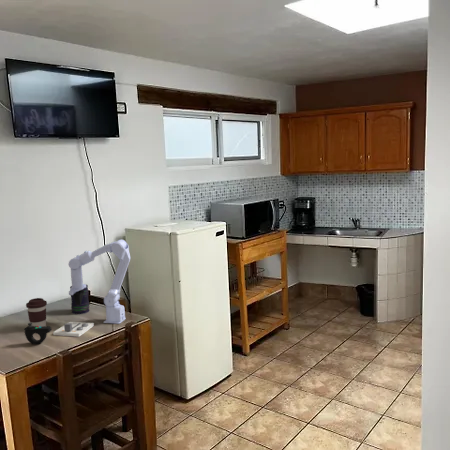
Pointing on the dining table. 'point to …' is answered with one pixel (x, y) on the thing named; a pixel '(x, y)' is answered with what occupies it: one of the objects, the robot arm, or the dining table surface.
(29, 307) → the coffee cup
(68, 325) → the fader tab
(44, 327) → the controller
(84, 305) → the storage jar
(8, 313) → the dining table surface
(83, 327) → the console
